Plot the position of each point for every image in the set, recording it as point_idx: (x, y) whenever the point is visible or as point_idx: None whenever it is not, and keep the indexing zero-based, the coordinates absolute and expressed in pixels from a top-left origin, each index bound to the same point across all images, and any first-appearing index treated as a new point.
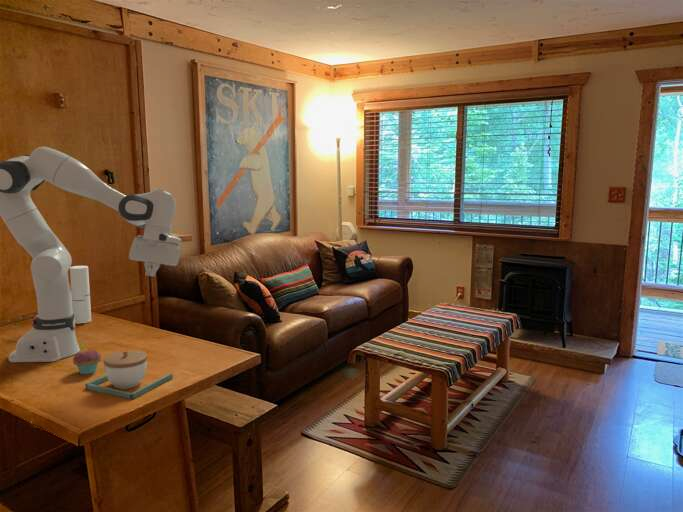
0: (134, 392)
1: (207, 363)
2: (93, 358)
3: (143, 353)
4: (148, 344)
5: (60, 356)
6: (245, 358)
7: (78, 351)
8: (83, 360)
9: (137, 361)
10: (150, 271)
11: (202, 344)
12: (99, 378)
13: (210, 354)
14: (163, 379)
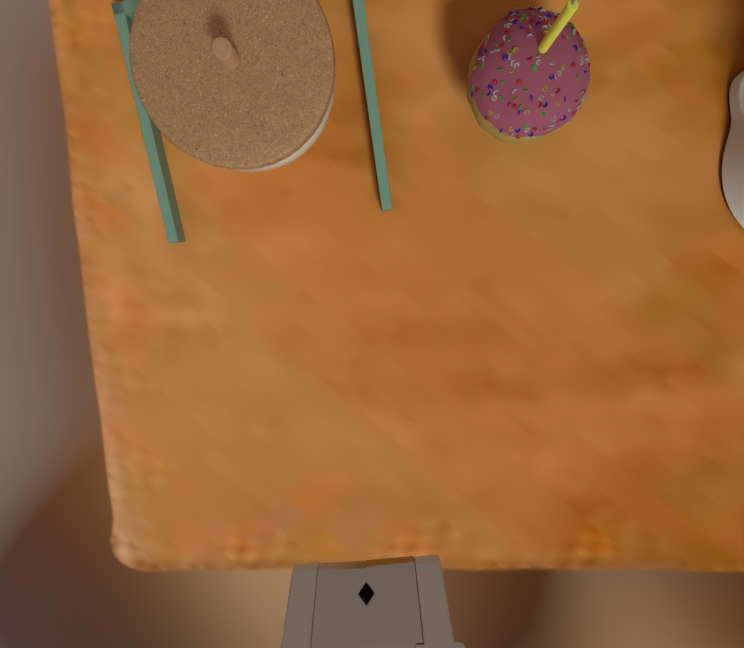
0: (123, 25)
1: (194, 416)
2: (477, 71)
3: (203, 147)
4: (553, 434)
5: (740, 114)
6: (123, 523)
7: (734, 212)
8: (497, 27)
9: (129, 52)
10: (322, 632)
11: (370, 544)
12: (363, 38)
13: (259, 486)
14: (158, 190)
